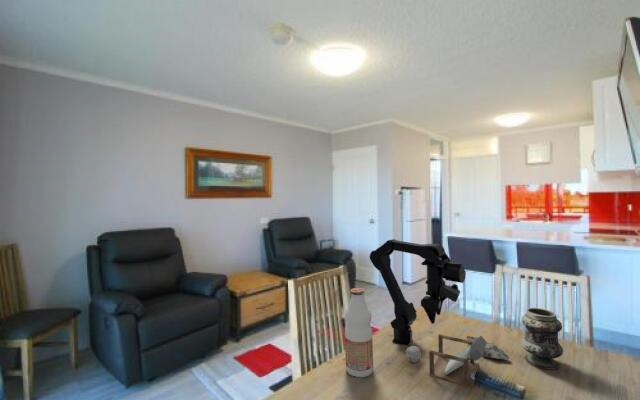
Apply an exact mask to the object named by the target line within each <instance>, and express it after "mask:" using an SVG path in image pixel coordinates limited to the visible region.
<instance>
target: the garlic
mask: <svg viewBox="0 0 640 400" xmlns="http://www.w3.org/2000/svg"><path fill="white" fill-rule="evenodd" d="M405 353H406V355H405V356H406V359H408V361H410V362H412V363H417V362H418V361H419V360H420V359H421V356H422V353H421V350H420V348H419V347H417V346H415V345H411V346H409V347H407V348H406V351H405Z"/></svg>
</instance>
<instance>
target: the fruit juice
mask: <svg viewBox="0 0 640 400" xmlns="http://www.w3.org/2000/svg"><path fill="white" fill-rule="evenodd" d="M365 294H366V290H365V289H364V288H361V287H354V288H351V289H350V296H351V297H350V300H349V305H348V307H347V308H346V309H345V312H344V319H345V322H346V325H345V328H344V344H345V345H344V349H345V350H344V352H345V370H346V372H347V374H349V376H352V377H354V376H355V378H365V377H369V376H370V375H372V373H373V371H374V351H373V350H374V349H373V346H374V345H373V342H374V341H373V328H372V325H371V322H372V311H371V310H370V308H369V306H368V303H367V301H366V298H365Z"/></svg>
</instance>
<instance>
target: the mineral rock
mask: <svg viewBox="0 0 640 400" xmlns="http://www.w3.org/2000/svg"><path fill="white" fill-rule="evenodd" d="M476 338H478V337H477V336H475V337H474V336H471V335H467V336H466V340H468V341H474V340H475V339H476ZM468 346H470V344H467V347H468ZM483 357H484V358H491V359H497V360H500V359H501V360H505V361H508V360H510V357H509V355H508V354H506V353H505V351H504V350H502V349H501V348H499V347H498V346H497V345H496V344H494V343H492V342H488V341H486V346H485V351H484V355H483ZM483 357H482V358H483Z"/></svg>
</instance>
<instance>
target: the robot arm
mask: <svg viewBox="0 0 640 400" xmlns="http://www.w3.org/2000/svg"><path fill="white" fill-rule="evenodd" d="M395 251H396V252H400V253H401V252H402V253H406V254H411V255H412V254H413V255H417V256H419V257H420V258H422V259H424V260H423V261H422V262H421V266H426V281H425V284H426V292H425V296H423V298H421V299H420V307H422V309H423V310H424V312H425V313H426V315H427V317H428V320H429V322H430V323H431V324H433V325H435V322H436V318H437V317H436V316H441V312H442V308H443V303H444V301H445V300H447V299H448V300H451V301H452V302H453V303H457V300H458V299H459V297H460V294H461V290H460V289H459V285H458V284H455V283H453V284H452V285H450V284H449V285H447V284H446V281H449V282H456V283H460V284H463V283H465V281H466V280H465V279H466V275H467V272H466V270H465V267H464V264H463V263H462V262H452V259H450V257H449V256H448V254H447V253H446V251H445V248H444V247H443V245H442V244H440V243H423V244H420V243H415V242H408V241H403V240H398V239H395V238H394V239H392V238H391V239H388V240H386V241H385V242H384V243H383V244H381V245H380V246H379V247H377V248H376V249H375V250H372V251H371V252H370V254H369V260H370V262H371V264H372V266H373V267H374V268H375V269H376V270H377V271H379V273H380V275H381V277H382V279H383V282H384V284H385V286H386V288H387V291H388V293H389V295H390V298H391V300H392V302H393V305H394V307H393V309H394V310H393V311H394V316H395V318H394V319H393V320H391V321H390V326H391V328H392V329H393V339H392V343H395V344H399V345H403V346H410V344H411V343H412V341H413V330H412V328H411V327H412V325H413V323H414V322H415V321H416V320H417V317H418V315H417V312H418V311H417V310H416V308H415V306H414V303H413V302H409V301H407V300H406V299H405V296H404V293H403V292H402V289H401V287H400V284H399V283H398V280H397V279H396V276H395V274H394V272H393V270H392V267H391V265H392V264H391V262H392V261H391V260H392V259H391V255H392V254H393V253H394V252H395Z"/></svg>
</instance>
